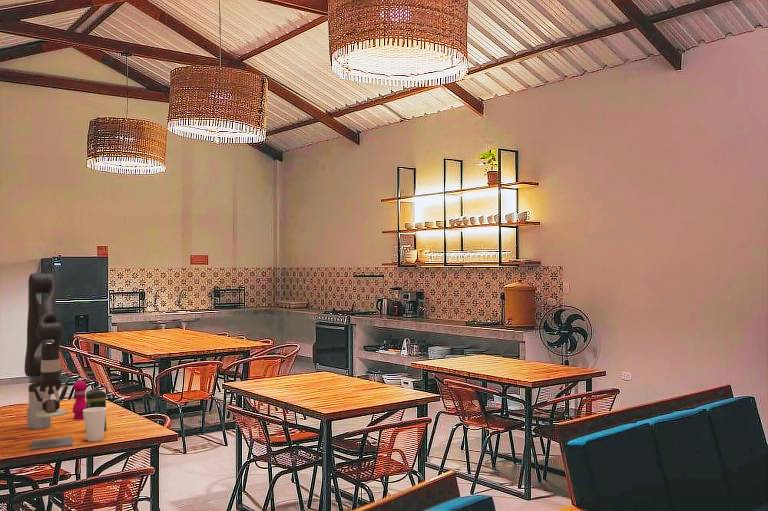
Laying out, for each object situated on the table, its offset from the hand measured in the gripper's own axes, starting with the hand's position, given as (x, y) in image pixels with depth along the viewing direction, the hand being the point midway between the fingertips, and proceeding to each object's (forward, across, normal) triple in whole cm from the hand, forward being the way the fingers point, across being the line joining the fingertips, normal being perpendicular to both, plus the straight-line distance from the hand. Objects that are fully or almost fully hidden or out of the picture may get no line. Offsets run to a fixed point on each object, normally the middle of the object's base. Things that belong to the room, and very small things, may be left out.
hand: (51, 410), depth 311 cm
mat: (+14, 0, 0) cm, 14 cm away
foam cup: (+14, +17, -1) cm, 22 cm away
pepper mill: (+15, +12, +51) cm, 54 cm away
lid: (+2, 0, 0) cm, 2 cm away
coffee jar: (+15, +18, +18) cm, 30 cm away
